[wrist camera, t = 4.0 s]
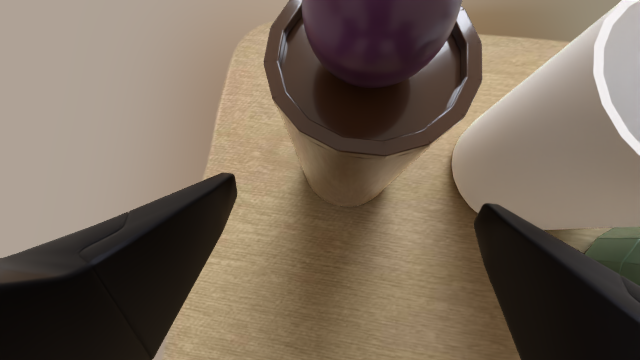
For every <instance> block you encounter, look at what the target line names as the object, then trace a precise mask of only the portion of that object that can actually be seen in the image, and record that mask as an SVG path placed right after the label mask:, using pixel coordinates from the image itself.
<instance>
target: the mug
mask: <svg viewBox="0 0 640 360" xmlns="http://www.w3.org/2000/svg"><path fill="white" fill-rule="evenodd" d="M452 171H453V178H454V181H455V183H456V185H457V188H458V190H459V193H460V194H461V195H462V197H463V198H464V199H465V201H466V202H467V204H468V205H469V206H470V207H471V208H472V209H473V210H475V211H476V212H477V213H479V211H480V209H481V207H482V205H483V204H485V203H492V204H498V205H500V206H502V207H504V208H505V209H507V210H509V211H511V212H512V213H514V214H516V215H518V216H519V217H521V218H523V219H524V220H526V221H528V222H530V223H531V224H533V225H535V226H537V227H538V228H540V229H542V230H561V229H588V228H615V227H640V0H622V1H621V2H620V3H618V4H617V5H616V6H615V7H613V8H612V9H611V10H610V11H609V12H607V13H606V14H605V15H604V16H602V17H601V18H600V19H599V20H598V21H596V22H595V23H594V24H593V25H591V26H590V27H589V28H588V29H587V30H585V31H584V32H583V33H582V34H580V35H579V36H578V37H577V38H575V39H574V40H573V41H572V42H570V43H569V44H568V45H567V46H566V47H564V48H563V49H562V50H561V51H559V52H558V53H557V54H556V55H555V56H553V57H552V58H551V59H550V60H548V61H547V62H546V63H545V64H543V65H542V66H541V67H540V68H539V69H537V70H536V71H535V72H534V73H532V74H531V75H530V76H529V77H527V78H526V79H525V80H524V81H523V82H521V83H520V84H519V85H518V86H516V87H515V88H514V89H513V90H512V91H510V92H509V93H508V94H507V95H505V96H504V97H503V98H502V99H500V100H499V101H498V102H497V103H496V104H494V105H493V106H492V107H491V108H489V109H488V110H487V111H486V112H484V113H483V114H482V115H481V116H480V117H478V118H477V119H476V120H475V121H474V122H473V123H472V124H471V125H470V126H469V127H468V128H467V129H466V130H465V131H464V133H463V134H462V135H461V136H460V137H459V139H458V141H457V143H456V145H455V148H454V151H453V157H452Z"/></svg>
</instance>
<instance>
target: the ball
mask: <svg viewBox="0 0 640 360" xmlns="http://www.w3.org/2000/svg"><path fill="white" fill-rule="evenodd" d="M461 3H462V0H302V16H303V23H304V28H305V32H306V36H307V38H308V41H309V44H310V46H311V48H312V50H313V52H314V54H315V55H316V57H317V58H318V60H319V61H320V62H321V64H322V65H323V66H324V67H325V68H326V69H327V70H328V71H329V72H330V73H331V74H333V75H334V76H335V77H337V78H338V79H340V80H342V81H343V82H346V83H348V84H351V85H354V86H358V87H364V88H381V87H387V86H391V85H394V84H397V83H400V82H402V81H404V80H406V79H408V78H410V77H412V76H413V75H415V74H416V73H418V72H419V71H420V70H421V69H423V68H424V67H425V66H426V65H428V64H429V62H430V61H431V60H432V59H433V58H434V57H435V56H436V55H437V54H438V52H439V51H440V50H441V48H442V47H443V46H444V44H445V42H446V41H447V39H448V38H449V36H450V34H451V32H452V30H453V28H454V25H455V23H456V20H457V17H458V14H459V11H460V7H461Z"/></svg>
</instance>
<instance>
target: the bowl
mask: <svg viewBox="0 0 640 360" xmlns="http://www.w3.org/2000/svg"><path fill="white" fill-rule="evenodd" d="M585 255H587V256H589V257H590V258H592V259H594V260H595V261H597V262H599V263H601V264H602V265H604V266H606V267H608V268H609V269H611V270H613V271H614V272H616V273H618V274H619V275H620V276H623V277H625V278H627V279H628V280H630V281H632V282H634V283H635V284H637V285H639V286H640V227H615V228H613V229H611V230H609V231H608V232H606V233H604V234H603V235H601V236H599V237H598V238H597V239H596V240H595V241H594V242H593V244H592V245H591V246H590V248H589V249H588V250H587V252H586V253H585Z"/></svg>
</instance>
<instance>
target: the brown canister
mask: <svg viewBox="0 0 640 360" xmlns="http://www.w3.org/2000/svg"><path fill="white" fill-rule="evenodd" d="M264 67H265V71H266V75H267V79H268V83H269V87H270V91H271V95H272V99H273V101H274V103H275V105H276V106H277V108H278V109H279V111H280V114H281V116H282V119H283V121H284V124H285V126H286V129H287V131H288V134H289V136H290V139H291V141H292V144H293V146H294V149H295V151H296V154H297V156H298V159H299V161H300V164H301V166H302V169H303V171H304V173H305V176H306V178H307V181H308V183H309V185H310V187H311V188H312V190H313V191H314V192H315V193H316V194H317V195H318V196H319V197H320V198H322V199H323V200H325V201H326V202H328V203H330V204H333V205H336V206H341V207H354V206H359V205H362V204H365V203H367V202H369V201H370V200H372V199H373V198H375V197H376V196H377V195H378V194H379V193H380V192H381V191H382V190H383V189H385V188H386V187H387V186H388V185H389V184H390V183H391V182H392V181H393V180H394V179H395V178H397V177H398V176H399V175H400V174H401V173H402V172H403V171H404V170H405V169H406V168H407V167H409V166H410V165H411V164H412V163H413V162H414V161H415V160H416V159H417V158H418V157H420V156H421V155H422V154H423V153H424V152H425V151H426V150H427V149H428V148H429V147H430V146H432V145H433V144H434V143H435V142H436V141H437V140H438V139H439V138H440V137H441V136H442V135H444V134H445V133H446V132H447V131H449V130H450V129H451V128H452V127H454V126H455V125H456V124H457V123H459V122H460V121H461V120H462V119H463V118H464V117H465V115H466V113H467V111H468V109H469V107H470V105H471V103H472V101H473V99H474V97H475V95H476V93H477V91H478V89H479V87H480V85H481V83H482V44H481V40H480V38H479V36H478V34H477V32H476V30H475V29H474V26H473V24H472V22H471V21H470V18H469V16H468V14H467V12H466V11H465V10H464V8H463V7H462V6H461V7H460V11H459V14H458V17H457V20H456V23H455V25H454V28H453V30H452V32H451V34H450V36H449V38H448V39H447V41H446V42H445V44H444V46H443V47H442V48H441V50H440V51H439V52H438V54H437V55H436V56H435V57H434V58H433V59H432V60H431V61H430V62H429V64H428V65H426V66H425V67H424V68H423V69H421V70H420V71H419V72H418V73H416V74H415V75H413V76H412V77H410V78H408V79H406V80H404V81H402V82H400V83H397V84H394V85H391V86H387V87H381V88H364V87H358V86H354V85H351V84H348V83H346V82H343V81H342V80H340V79H338V78H337V77H335V76H334V75H333V74H331V73H330V72H329V71H328V70H327V69H326V68H325V67H324V66H323V65H322V64H321V62H320V61H319V60H318V58H317V57H316V55H315V54H314V52H313V50H312V48H311V46H310V44H309V41H308V38H307V36H306V32H305V28H304V23H303V16H302V0H289V2H288V3H287V5H286V6H285V7H284V9H283V10H282V12H281V13H280V15H279V16H278V17H277V19H276V20H275V21H274V23H273V24H272V26H271V28H270V32H269V37H268V42H267V47H266V52H265V57H264Z"/></svg>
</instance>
